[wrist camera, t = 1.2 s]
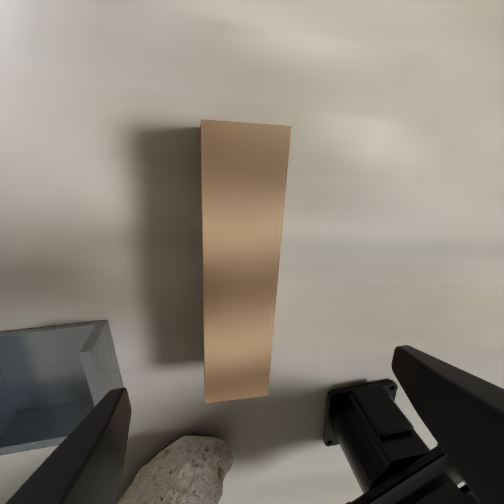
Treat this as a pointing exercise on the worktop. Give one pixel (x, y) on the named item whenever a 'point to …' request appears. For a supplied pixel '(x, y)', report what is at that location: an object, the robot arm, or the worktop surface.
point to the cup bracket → (52, 381)
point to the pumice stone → (182, 474)
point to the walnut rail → (240, 252)
